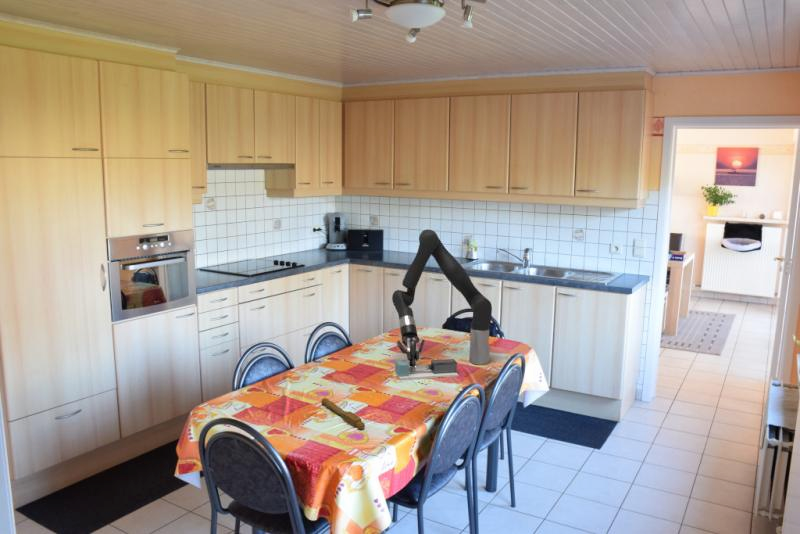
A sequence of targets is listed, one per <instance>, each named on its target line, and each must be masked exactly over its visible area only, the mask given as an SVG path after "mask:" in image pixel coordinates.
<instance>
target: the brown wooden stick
mask: <svg viewBox="0 0 800 534" xmlns="http://www.w3.org/2000/svg"><path fill="white" fill-rule="evenodd" d="M321 405H323V406H325V407H326V408H327V409H329V410H331V411H332V412H334V413H335V414H338V415H340V416H341V417H342V420H343V421H344V422H346V424H348V425H350V426H351V427H353V428H357V429H359V430H363V429H364V428H365V426H366V424H365V422H363V421H362V418H361V417H360V416H358V415H357V414H355V413H353V412H352V411H346V410H344V409H343V408H341V407H339V406H338V405H337V404H336V403H334V402H332V401H331V400H329V399H328V398H326V397H323V398H322V399H321Z"/></svg>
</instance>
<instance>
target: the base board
mask: <svg viewBox="0 0 800 534" xmlns="http://www.w3.org/2000/svg"><path fill="white" fill-rule="evenodd" d="M393 372H394V374H395V375H396V377H397V378H398V380H399V381H406V380H407V379H410V380H425V379H424V378H428V379H439V378H438V377H446V378H459V375H460V374H458V372H457V373H442V374H434V373H433V372H432V371H431V370H419V371H415V372H410V371H409V376H406V377H399V376H398V375H397V373H396V372H395V369H394V370H393ZM407 381H408V380H407Z"/></svg>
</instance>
